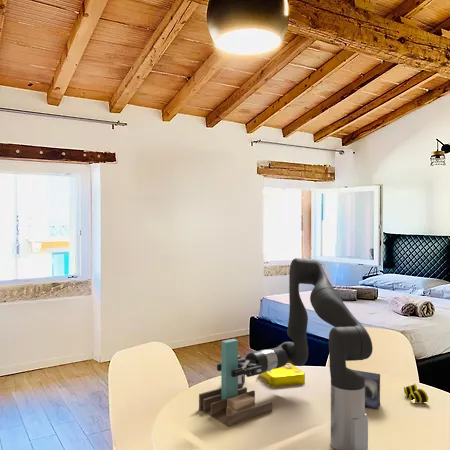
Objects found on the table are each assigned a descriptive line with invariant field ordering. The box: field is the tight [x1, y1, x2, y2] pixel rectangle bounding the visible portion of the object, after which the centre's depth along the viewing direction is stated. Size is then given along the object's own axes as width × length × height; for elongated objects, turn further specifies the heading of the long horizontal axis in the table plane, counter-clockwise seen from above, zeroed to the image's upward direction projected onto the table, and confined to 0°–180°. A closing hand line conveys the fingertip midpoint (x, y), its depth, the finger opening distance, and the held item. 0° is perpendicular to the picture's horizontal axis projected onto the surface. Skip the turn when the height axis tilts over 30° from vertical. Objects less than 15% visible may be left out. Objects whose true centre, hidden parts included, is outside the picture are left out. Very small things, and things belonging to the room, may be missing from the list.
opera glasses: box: [403, 383, 429, 404], centre depth 157 cm, size 10×5×5 cm, turn 179°
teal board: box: [220, 338, 239, 400], centre depth 146 cm, size 2×5×22 cm, turn 128°
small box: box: [354, 369, 381, 410], centre depth 153 cm, size 11×6×10 cm, turn 62°
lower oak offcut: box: [226, 403, 257, 415], centre depth 140 cm, size 5×9×2 cm, turn 128°
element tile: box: [258, 362, 306, 388], centre depth 177 cm, size 15×15×5 cm
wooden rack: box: [198, 382, 273, 427], centre depth 143 cm, size 16×18×6 cm
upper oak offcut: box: [227, 394, 256, 412], centre depth 140 cm, size 5×8×2 cm, turn 128°
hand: (224, 370), depth 144 cm, fingers open, 7 cm apart
